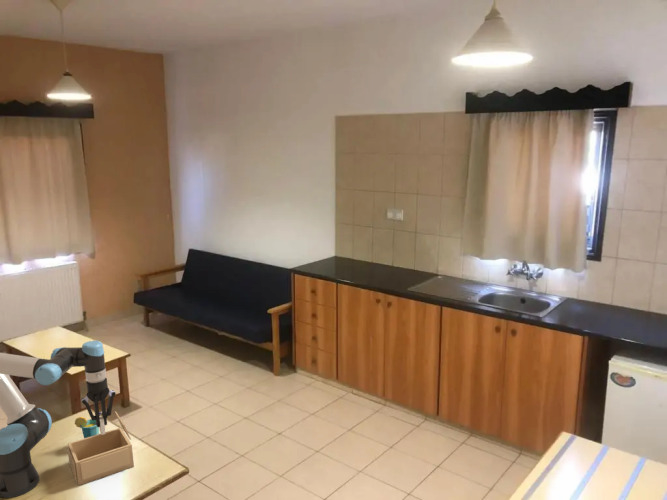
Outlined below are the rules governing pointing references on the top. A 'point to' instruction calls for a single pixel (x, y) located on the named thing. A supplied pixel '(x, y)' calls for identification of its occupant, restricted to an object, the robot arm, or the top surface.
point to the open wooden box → (100, 456)
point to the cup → (87, 426)
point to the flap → (122, 425)
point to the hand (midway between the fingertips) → (102, 432)
